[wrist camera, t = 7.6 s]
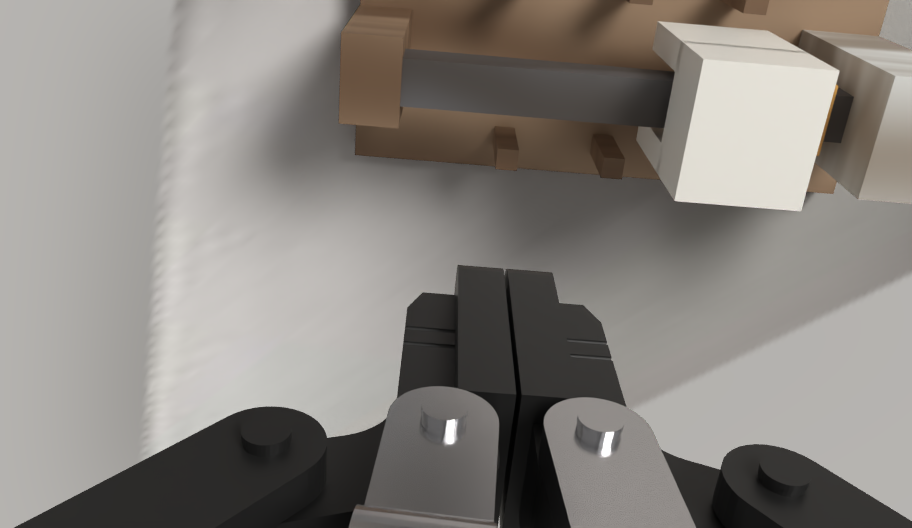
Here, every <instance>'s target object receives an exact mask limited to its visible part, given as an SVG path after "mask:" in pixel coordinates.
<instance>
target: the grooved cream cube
mask: <svg viewBox="0 0 912 528" xmlns="http://www.w3.org/2000/svg"><path fill="white" fill-rule="evenodd" d="M653 50H654V51H655V52H656V53H657V54H658V55H659V56H660V57H661V58H662V59H663V60H664V61H665V62H666V63H667V64H668V65H669V66H670V67H671V68H672V69H673V70H674V71H675V75H674V80H673V85H672V90H671V95H670V100H669V106H668V111H667V116H666V121H665V126H664V128H653V127H641V126H639V127H638V132H637V138H636V141H637V142H638V144H639V145H640V147H641V149H642V150H643V152H644V153H645V155H646V157H647V158H648V160H649V161H650V163H651V165H652V166H653V168H654V169H655V171H656V173H657V174H658V176H659V177H660V179H661V181H662V182H663V184H664V185H665V187H666V189H667V190H668V192H669V193H670V195H671V197H672V198H673V200H674V201H679V202H691V203H704V204H716V205H729V206H741V207H753V208H766V209H778V210H791V211H801V210H802V206H803V202H804V199H805V195H806V191H807V188H808V184H809V181H810V177H811V173H812V170H813V166H814V162H815V159H816V155H817V152H818V148H819V144H820V141H821V137H822V133H823V130H824V126H825V123H826V119H827V115H828V112H829V108H830V104H831V101H832V97H833V93H834V90H835V86H836V83H837V79H838V75H839V72H840V71H839V70H837V69H836V68H834V67H832V66H830V65H828V64H827V63H825V62H823V61H821V60H819V59H818V58H816V57H814V56H812V55H811V54H809V53H807V52H805V51H803V50H802V49H800V48H798V47H796V46H794V45H793V44H791V43H789V42H787V41H785V40H784V39H782V38H780V37H778V36H777V35H775V34H773V33H771V32H769V31H765V30H754V29H742V28H731V27H719V26H708V25H696V24H685V23H673V22H662V21H657V27H656V32H655V38H654V43H653Z"/></svg>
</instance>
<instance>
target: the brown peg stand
mask: <svg viewBox="0 0 912 528" xmlns="http://www.w3.org/2000/svg"><path fill="white" fill-rule="evenodd" d="M888 3H889V0H360V6H359V7H358V9H357V10H356V11H355V13H354V14H353V16H352V17H351V19H350V20H349V22H348V23H347V25H346V26H345V28H344V29H343V30H342V32H341V57H340V95H339V124H351V125H356V141H355V155H362V156H375V157H387V158H399V159H412V160H424V161H436V162H448V163H461V164H473V165H485V166H495V168H496V169H501V170H513V171H517V168H522V169H534V170H547V171H559V172H571V173H584V174H596V175H600V177H601V178H611V179H622V177H633V178H645V179H657V180H661V179H660V177H659V176H658V174H657V173H656V171H655V169H654V168H653V166H652V165H651V163H650V161H649V160H648V158H647V157H646V155H645V153H644V152H643V150H642V149H641V147H640V145H639V144H638V142H637V141H636V138H637V132H638V127H639V126H641V127H653V128H664V126H665V121H666V116H667V111H668V106H669V100H670V95H671V90H672V85H673V80H674V75H675V71H674V70H673V69H672V68H671V67H670V66H669V65H668V64H667V63H666V62H665V61H664V60H663V59H662V58H661V57H660V56H659V55H658V54H657V53H656V52H655V51H654V50H653V43H654V38H655V32H656V27H657V21H662V22H673V23H685V24H696V25H708V26H719V27H731V28H742V29H754V30H765V31H769V32H771V33H773V34H775V35H777V36H778V37H780V38H782V39H784V40H785V41H787V42H789V43H791V44H793V45H794V46H796V47H798V48H800V49H802V50H803V51H805V52H807V53H809V54H811V55H812V56H814V57H816V58H818V59H819V60H821V61H823V62H825V63H827V64H828V65H830V66H832V67H834V68H836V69H837V70H839V71H840V72H839V75H838V79H837V83H836V86H835V90H834V93H833V97H832V101H831V104H830V108H829V112H828V115H827V119H826V123H825V126H824V130H823V133H822V137H821V141H820V144H819V148H818V152H817V155H816V159H815V162H814V166H813V170H812V173H811V177H810V181H809V184H808V188H807V191H806V192H817V193H829V194H833V193H834V189H835V186H836V182H838V183H839V184H841V185H842V186H843V187H844V188H845V189H846V190H848V191H849V192H850V193H851V194H852V195H853V196H855V197H856V198H857V199H859V200H871V201H884V202H896V203H908V204H912V50H910V49H908V48H905V47H903V46H901V45H898V44H896V43H894V42H891V41H889V40H886V39H884V38H882V37H879V34H880V31H881V27H882V24H883V20H884V17H885V13H886V10H887V7H888Z"/></svg>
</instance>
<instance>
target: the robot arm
mask: <svg viewBox="0 0 912 528" xmlns="http://www.w3.org/2000/svg"><path fill="white" fill-rule="evenodd" d="M606 343H607V341H606V338H605V334H604V331H603V327H602V324H601V322H600V321H599V320H598V319H597V318H596V317H595V316H594V315H593V314H592V313H591V312H590V311H588V310H587V309H586V308H585V307H584V306H583V305H574V304H562V303H559V301H558V296H557V292H556V287H555V282H554V278H553V274H552V273H551V272H538V271H526V270H514V269H506V271H505V275H504V271H503V269H499V268H487V267H475V266H462V265H458V267H457V274H456V284H455V294H454V295H447V294H435V293H422V294H421V295H420V296H419V297H418V298H417V299H416V300H415V301H414V302H413V303H412V304H411V305H410V306H409V307H408V308H407V316H406V325H405V334H404V343H403V351H402V360H401V369H400V377H399V386H398V395H397V399H396V400H395V401H394V402H393V403H392V405H391V406H390V409H389V411H388V415H387V418H386V419H385V420H384V421H383V422H381V423H380V424H378V425H376V426H375V427H372V428H370V429H368V430H365V431H362V432H359V433H355V434H350V435H345V436H338V437H331V438H327V436H326V432H325V431H324V429H323V427H322V426H321V425H320V424H319V422H318V421H316V420H315V419H314V418H312V417H311V416H309V415H307V414H305V413H303V412H300V411H297V410H294V409H289V408H283V407H258V408H252V409H247V410H243V411H240V412H237V413H235V414H233V415H230V416H228V417H226V418H224V419H222V420H220V421H218V422H216V423H215V424H213V425H211V426H209V427H207V428H205V429H203V430H201V431H199V432H197V433H195V434H193V435H191V436H190V437H188V438H186V439H184V440H182V441H180V442H178V443H176V444H174V445H172V446H170V447H168V448H166V449H165V450H163V451H161V452H159V453H157V454H155V455H153V456H151V457H149V458H147V459H145V460H143V461H141V462H140V463H138V464H136V465H134V466H132V467H130V468H128V469H126V470H124V471H122V472H120V473H118V474H117V475H115V476H113V477H111V478H109V479H107V480H105V481H103V482H101V483H100V484H97V485H95V486H93V487H92V488H90V489H88V490H86V491H84V492H82V493H80V494H78V495H76V496H74V497H72V498H71V499H68V500H67V501H65V502H63V503H61V504H59V505H57V506H55V507H53V508H51V509H49V510H48V511H46V512H43V513H42V514H40V515H38V516H36V517H34V518H32V519H30V520H28V521H26V522H24V523H22V524H20V525H18V526H16V527H15V528H497V527H498V520H499V516H500V528H912V521H910V520H909V519H907V518H906V517H904V516H902V515H900V514H899V513H897V512H896V511H894V510H892V509H891V508H889V507H888V506H886V505H884V504H883V503H881V502H879V501H878V500H876V499H874V498H873V497H871V496H870V495H868V494H866V493H865V492H863V491H861V490H860V489H858V488H857V487H855V486H853V485H852V484H850V483H848V482H847V481H845V480H843V479H842V478H840V477H839V476H837V475H835V474H833V473H832V472H830V471H829V470H827V469H826V468H824V467H822V466H820V465H819V464H817V463H816V462H814V461H812V460H810V459H809V458H807V457H805V456H803V455H800V454H798V453H796V452H793V451H790V450H788V449H784V448H780V447H776V446H770V445H759V444H754V445H745V446H740V447H738V448H735V449H733V450H732V451H730V452H729V453H728V454H727V455H726V456H725V457H724V459H723V462H722V466H721V469H720V470H719V469H715V468H712V467H709V466H705V465H702V464H698V463H694V462H691V461H687V460H684V459H681V458H678V457H676V456H673V455H671V454H669V453H666V452H664V451H663V450H661V448H660V446H659V444H658V442H657V440H656V437H655V435H654V433H653V431H652V429H651V427H650V426H649V424H648V423H647V422H646V421H645V420H644V419H643V418H642V417H640V415H638V414H637V413H635V412H634V411H632V410H631V409H629V408H627V407H626V404H625V401H624V398H623V394H622V391H621V388H620V384H619V381H618V378H617V374H616V371H615V368H614V364H613V361H611V354H610V351H609V348H608V345H606Z"/></svg>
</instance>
